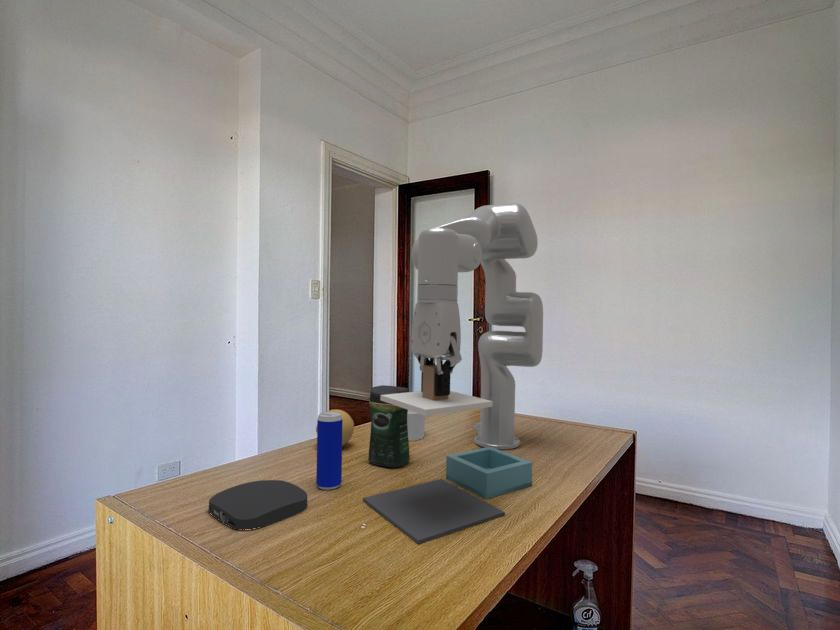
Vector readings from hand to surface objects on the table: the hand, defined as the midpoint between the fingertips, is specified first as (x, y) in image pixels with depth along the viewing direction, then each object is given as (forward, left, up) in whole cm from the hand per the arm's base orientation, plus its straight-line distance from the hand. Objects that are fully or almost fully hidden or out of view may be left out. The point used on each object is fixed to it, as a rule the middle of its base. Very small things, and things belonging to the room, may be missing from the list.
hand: (435, 392), depth 84 cm
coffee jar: (-26, +6, -22) cm, 34 cm away
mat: (0, 0, -22) cm, 22 cm away
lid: (0, 0, -2) cm, 2 cm away
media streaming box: (-17, -27, -22) cm, 39 cm away
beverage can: (-20, -12, -22) cm, 32 cm away
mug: (-44, +23, -22) cm, 54 cm away
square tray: (-4, +18, -22) cm, 28 cm away
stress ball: (-44, 0, -22) cm, 49 cm away
